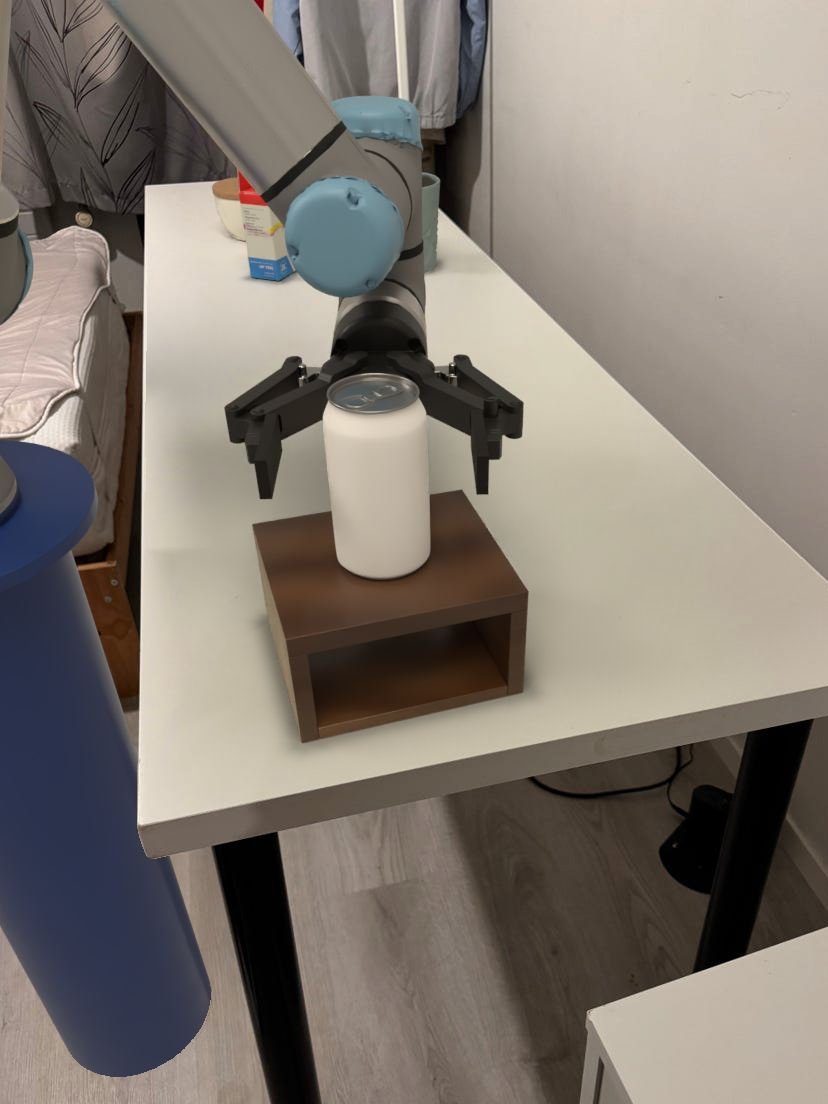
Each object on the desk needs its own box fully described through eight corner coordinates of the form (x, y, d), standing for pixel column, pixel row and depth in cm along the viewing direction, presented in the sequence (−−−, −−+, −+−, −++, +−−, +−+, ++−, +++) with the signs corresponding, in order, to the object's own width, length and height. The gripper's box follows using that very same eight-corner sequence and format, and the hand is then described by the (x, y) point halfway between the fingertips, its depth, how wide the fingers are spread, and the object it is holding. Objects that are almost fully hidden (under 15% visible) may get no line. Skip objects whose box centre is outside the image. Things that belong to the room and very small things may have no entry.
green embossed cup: (447, 257, 144) (446, 172, 136) (433, 278, 136) (431, 190, 128) (383, 253, 145) (379, 169, 137) (366, 273, 137) (360, 186, 130)
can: (317, 553, 64) (298, 389, 56) (391, 520, 67) (382, 361, 60) (375, 595, 60) (362, 425, 53) (450, 557, 64) (448, 393, 56)
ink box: (279, 282, 134) (265, 171, 125) (249, 278, 135) (233, 167, 126) (307, 264, 140) (296, 157, 131) (278, 261, 141) (265, 154, 132)
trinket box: (281, 224, 157) (273, 163, 151) (291, 242, 149) (284, 179, 143) (216, 229, 154) (206, 167, 148) (223, 248, 146) (213, 183, 140)
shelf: (268, 621, 73) (251, 523, 67) (462, 584, 77) (462, 488, 71) (301, 743, 62) (285, 640, 57) (523, 692, 66) (528, 591, 61)
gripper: (533, 388, 77) (568, 524, 61) (229, 392, 76) (181, 533, 59) (537, 297, 72) (577, 418, 56) (213, 300, 71) (156, 425, 54)
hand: (373, 478), depth 58 cm, fingers open, 13 cm apart
